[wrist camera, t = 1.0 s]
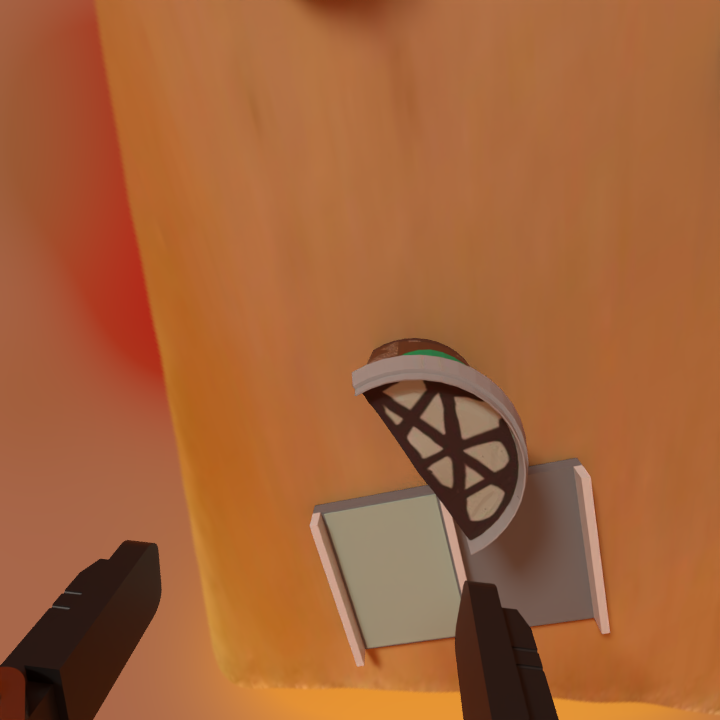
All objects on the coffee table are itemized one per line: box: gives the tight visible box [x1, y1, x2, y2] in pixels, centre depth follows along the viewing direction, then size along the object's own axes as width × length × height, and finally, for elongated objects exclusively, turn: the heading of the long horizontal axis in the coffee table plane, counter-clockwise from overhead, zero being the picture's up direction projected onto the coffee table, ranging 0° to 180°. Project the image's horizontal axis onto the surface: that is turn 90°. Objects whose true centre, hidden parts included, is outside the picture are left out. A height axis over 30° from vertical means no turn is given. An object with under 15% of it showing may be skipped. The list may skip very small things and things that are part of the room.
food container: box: [352, 338, 528, 555], centre depth 29 cm, size 12×6×10 cm, turn 34°
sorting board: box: [310, 458, 610, 666], centre depth 37 cm, size 20×14×2 cm
